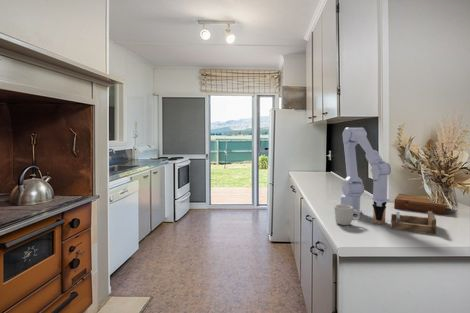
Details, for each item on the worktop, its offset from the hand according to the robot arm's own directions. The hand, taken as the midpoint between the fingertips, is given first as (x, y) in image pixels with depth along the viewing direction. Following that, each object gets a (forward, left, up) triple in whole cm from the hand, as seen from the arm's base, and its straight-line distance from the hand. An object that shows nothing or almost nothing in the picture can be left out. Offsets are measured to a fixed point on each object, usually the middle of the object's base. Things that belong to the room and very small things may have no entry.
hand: (379, 218), depth 138 cm
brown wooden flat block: (+19, +40, -3) cm, 44 cm away
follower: (+8, 0, -1) cm, 8 cm away
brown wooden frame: (+13, 0, -2) cm, 13 cm away
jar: (0, 0, -2) cm, 2 cm away
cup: (-13, -9, -2) cm, 16 cm away
